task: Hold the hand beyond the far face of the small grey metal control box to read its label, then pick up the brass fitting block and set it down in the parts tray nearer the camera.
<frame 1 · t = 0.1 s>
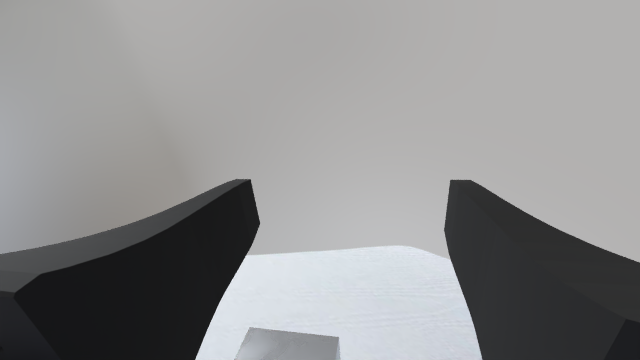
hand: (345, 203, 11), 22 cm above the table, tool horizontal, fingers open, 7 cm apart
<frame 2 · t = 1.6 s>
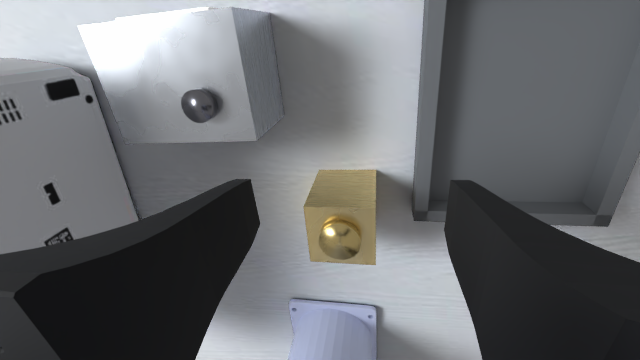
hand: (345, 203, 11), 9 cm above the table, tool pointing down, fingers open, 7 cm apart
control box: (218, 72, 19), on the table
stereo radio cassette player: (102, 185, 26), on the table
fitting block: (348, 194, 21), on the table
parts tray: (518, 105, 17), on the table
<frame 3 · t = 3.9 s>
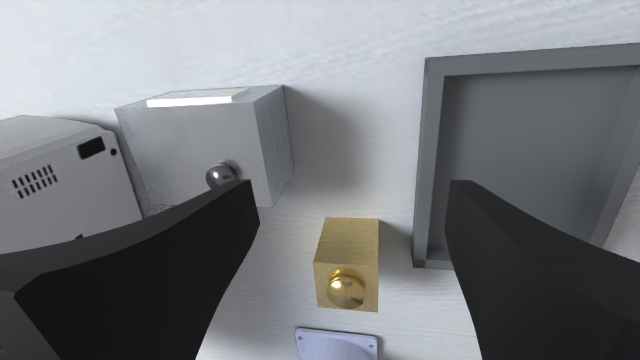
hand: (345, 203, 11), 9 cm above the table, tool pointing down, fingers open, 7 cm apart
control box: (234, 132, 21), on the table
stereo radio cassette player: (121, 222, 27), on the table
fitting block: (352, 239, 23), on the table
parts tray: (508, 170, 18), on the table
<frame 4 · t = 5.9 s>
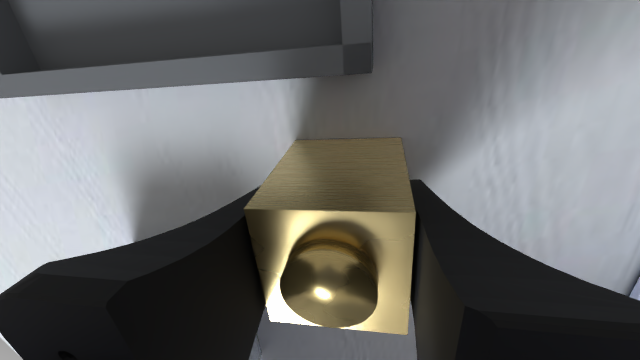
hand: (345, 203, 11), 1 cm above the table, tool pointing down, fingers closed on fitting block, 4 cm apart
fitting block: (348, 185, 12), on the table, touching gripper
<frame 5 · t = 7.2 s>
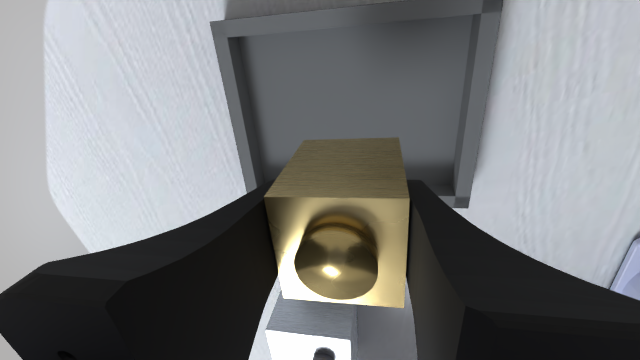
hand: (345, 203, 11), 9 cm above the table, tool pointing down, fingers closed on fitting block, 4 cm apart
control box: (323, 313, 26), on the table
fitting block: (351, 181, 13), point 6 cm above the table, touching gripper
parts tray: (349, 113, 18), on the table
when the fingers open (3 cm above the table, at t = 8.7 s): fitting block stays where it is, resting on parts tray.
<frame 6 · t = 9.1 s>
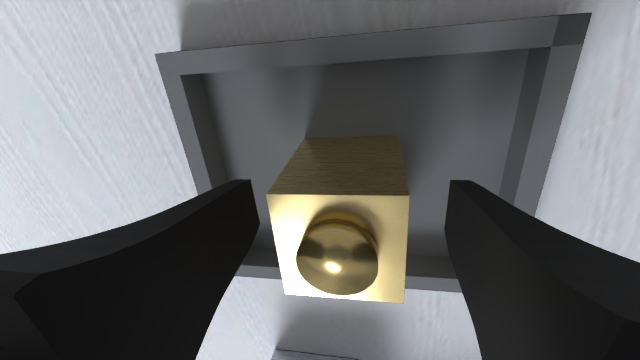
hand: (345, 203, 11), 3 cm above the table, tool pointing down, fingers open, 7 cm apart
fitting block: (352, 178, 13), resting on parts tray
parts tray: (351, 169, 13), on the table
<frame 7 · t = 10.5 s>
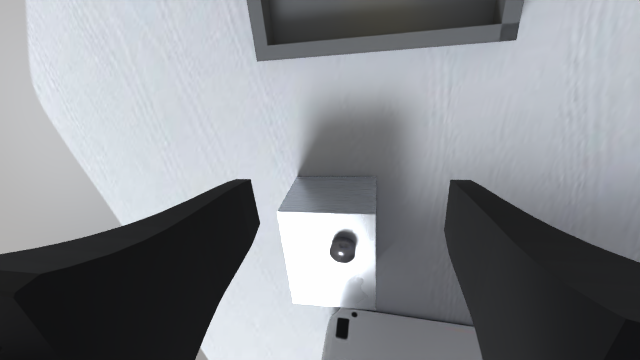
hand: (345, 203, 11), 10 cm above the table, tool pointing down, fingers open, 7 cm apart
control box: (338, 220, 24), on the table
stereo radio cassette player: (434, 338, 28), on the table
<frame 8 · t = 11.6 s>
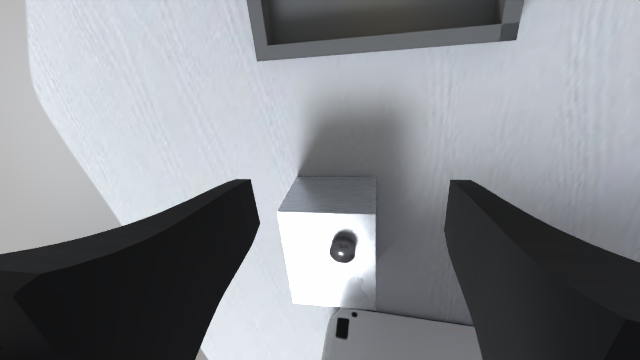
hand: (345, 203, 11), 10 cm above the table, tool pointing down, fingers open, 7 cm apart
control box: (338, 220, 24), on the table
stereo radio cassette player: (434, 338, 28), on the table
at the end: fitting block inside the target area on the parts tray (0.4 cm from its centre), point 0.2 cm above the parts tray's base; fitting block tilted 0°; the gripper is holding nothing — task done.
